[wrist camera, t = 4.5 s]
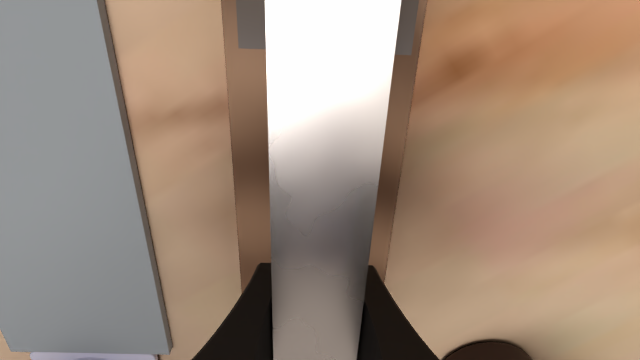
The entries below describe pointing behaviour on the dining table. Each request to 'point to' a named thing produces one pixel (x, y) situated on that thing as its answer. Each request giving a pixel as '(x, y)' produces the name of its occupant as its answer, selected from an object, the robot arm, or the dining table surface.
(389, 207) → the wooden stand
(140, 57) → the dining table surface
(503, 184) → the dining table surface
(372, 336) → the robot arm
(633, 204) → the dining table surface
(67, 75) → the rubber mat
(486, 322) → the dining table surface
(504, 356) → the vinegar
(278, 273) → the steel rail
